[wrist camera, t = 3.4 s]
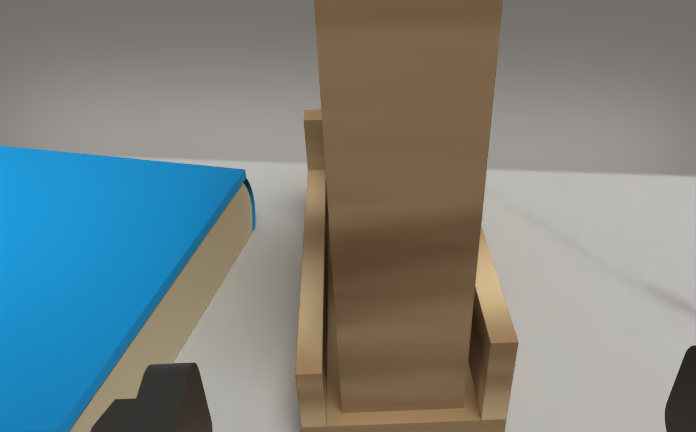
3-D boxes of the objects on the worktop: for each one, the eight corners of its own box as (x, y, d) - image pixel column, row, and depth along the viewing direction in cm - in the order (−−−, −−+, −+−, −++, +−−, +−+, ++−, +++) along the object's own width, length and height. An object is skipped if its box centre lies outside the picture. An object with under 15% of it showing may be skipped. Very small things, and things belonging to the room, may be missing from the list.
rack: (503, 438, 22) (524, 304, 18) (304, 446, 22) (287, 313, 18) (446, 214, 32) (453, 103, 29) (313, 220, 32) (304, 110, 29)
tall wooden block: (463, 408, 21) (517, -146, 12) (341, 413, 21) (305, -136, 12) (438, 287, 26) (464, -172, 17) (340, 291, 26) (312, -165, 17)
